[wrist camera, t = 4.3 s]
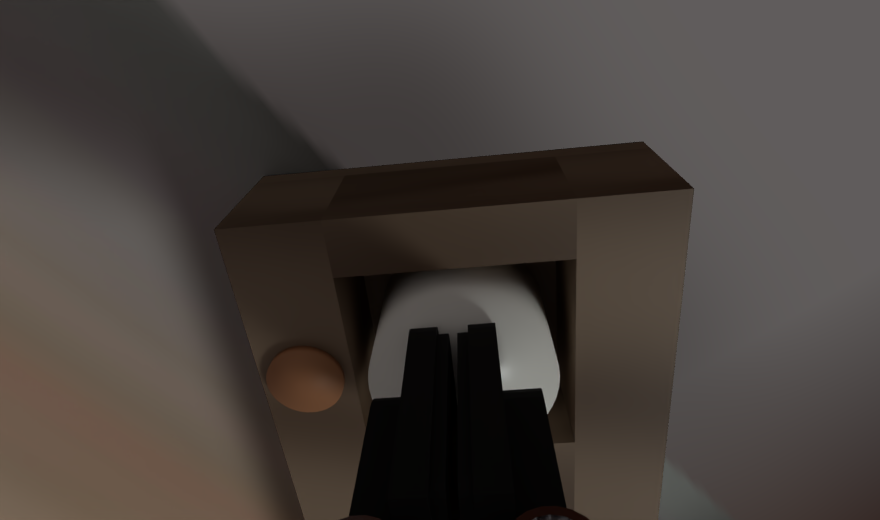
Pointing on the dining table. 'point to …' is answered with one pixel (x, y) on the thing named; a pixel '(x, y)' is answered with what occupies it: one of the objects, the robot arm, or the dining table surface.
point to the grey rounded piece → (454, 308)
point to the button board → (462, 246)
